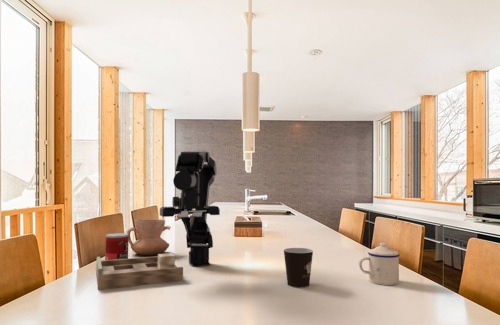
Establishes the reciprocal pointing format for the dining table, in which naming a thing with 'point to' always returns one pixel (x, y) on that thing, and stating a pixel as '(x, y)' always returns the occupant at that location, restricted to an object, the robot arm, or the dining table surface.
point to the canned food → (116, 246)
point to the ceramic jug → (149, 237)
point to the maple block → (166, 261)
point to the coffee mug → (298, 266)
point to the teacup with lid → (382, 265)
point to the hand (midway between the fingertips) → (189, 237)
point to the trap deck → (134, 272)
